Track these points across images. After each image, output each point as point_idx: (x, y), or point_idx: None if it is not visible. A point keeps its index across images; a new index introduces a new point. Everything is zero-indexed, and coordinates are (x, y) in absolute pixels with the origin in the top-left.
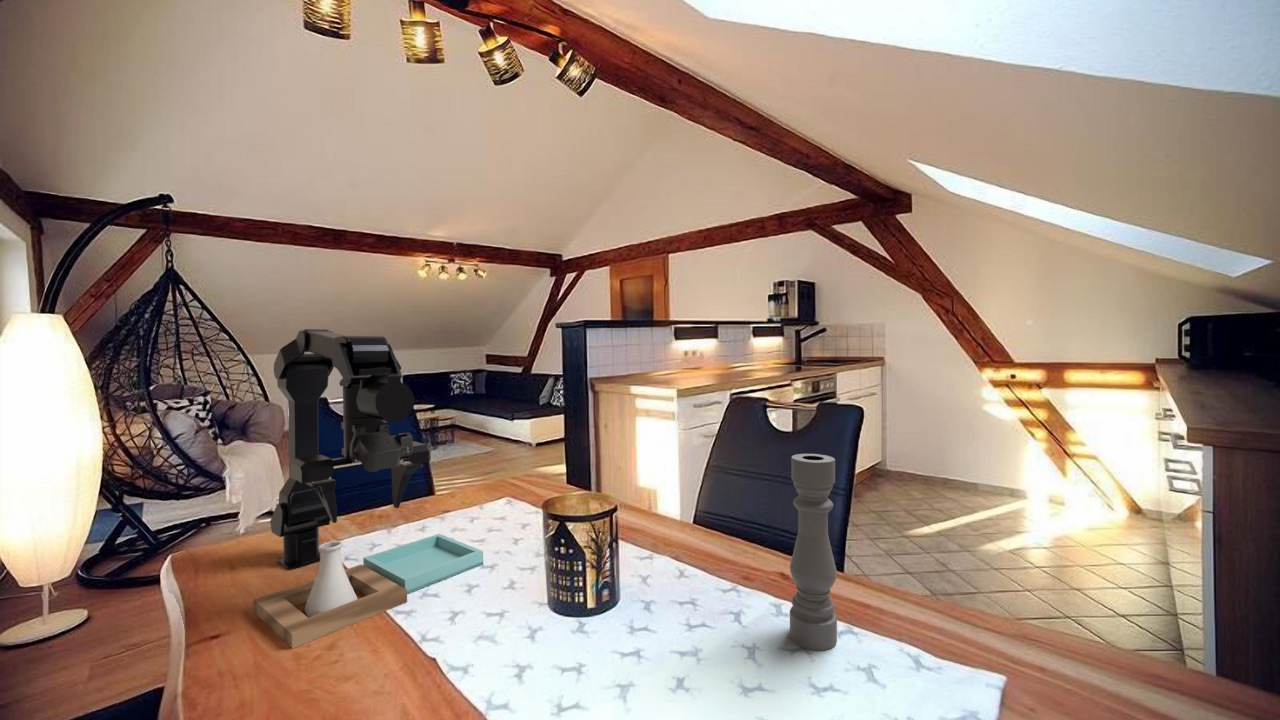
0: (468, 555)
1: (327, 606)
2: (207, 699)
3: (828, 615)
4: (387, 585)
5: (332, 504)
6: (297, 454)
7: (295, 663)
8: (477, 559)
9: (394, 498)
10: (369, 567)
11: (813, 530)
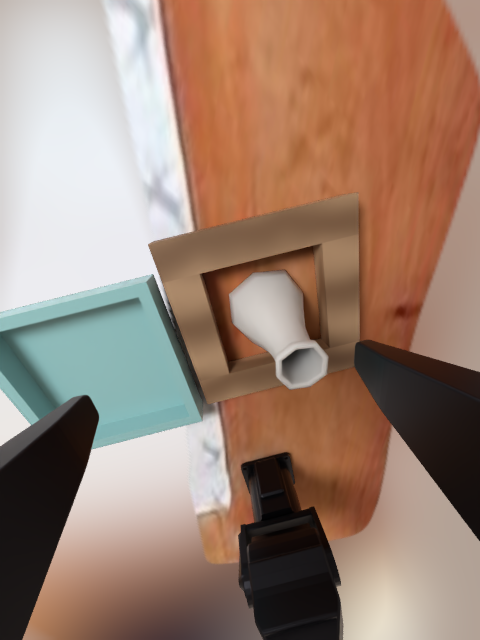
0: None
1: (283, 278)
2: (467, 110)
3: None
4: (180, 290)
5: (466, 379)
6: None
7: (354, 132)
8: None
9: (73, 450)
10: (196, 395)
11: None
